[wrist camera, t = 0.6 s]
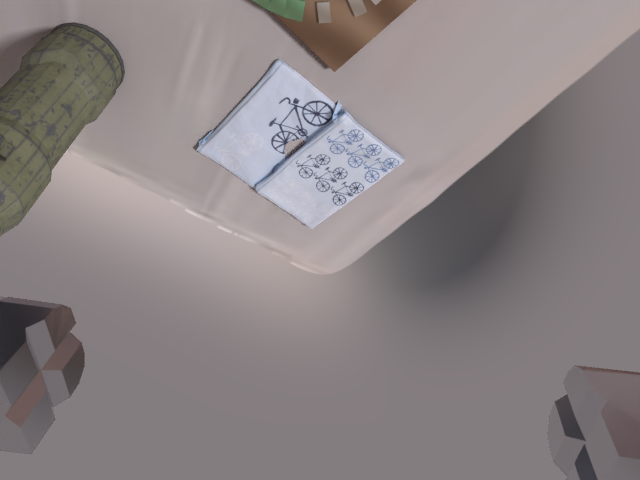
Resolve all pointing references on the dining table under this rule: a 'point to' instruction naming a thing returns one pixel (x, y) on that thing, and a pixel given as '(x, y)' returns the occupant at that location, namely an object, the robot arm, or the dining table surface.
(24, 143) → the thermos
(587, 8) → the dining table surface
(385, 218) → the dining table surface
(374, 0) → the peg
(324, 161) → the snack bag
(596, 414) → the robot arm
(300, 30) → the dial board
